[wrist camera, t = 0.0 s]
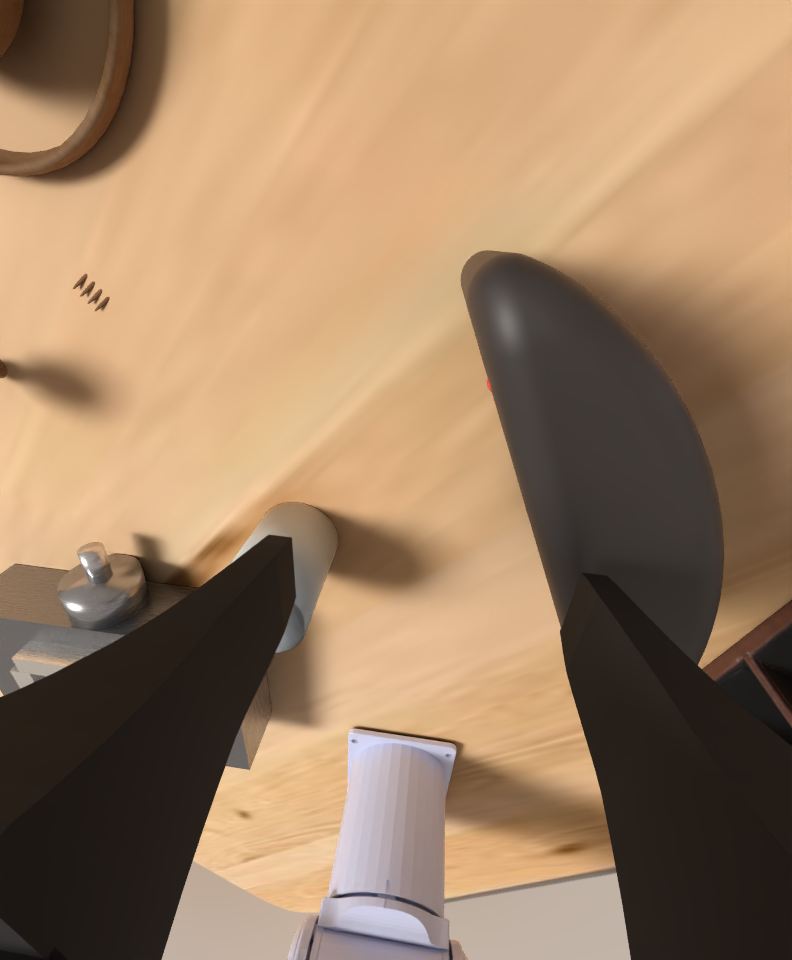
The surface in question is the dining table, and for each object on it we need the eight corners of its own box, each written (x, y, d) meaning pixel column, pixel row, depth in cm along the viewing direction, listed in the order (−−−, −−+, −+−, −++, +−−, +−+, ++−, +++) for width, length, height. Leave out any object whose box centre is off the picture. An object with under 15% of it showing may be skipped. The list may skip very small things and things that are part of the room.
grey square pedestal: (271, 712, 32) (242, 789, 27) (72, 682, 33) (12, 751, 28) (248, 544, 24) (201, 612, 20) (-12, 512, 25) (-113, 570, 21)
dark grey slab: (635, 556, 22) (748, 745, 13) (544, 575, 23) (596, 759, 15) (576, 209, 15) (729, 163, 7) (452, 262, 16) (453, 278, 8)
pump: (338, 571, 24) (307, 659, 19) (264, 561, 25) (214, 646, 19) (338, 507, 22) (303, 587, 17) (256, 497, 22) (198, 573, 17)
